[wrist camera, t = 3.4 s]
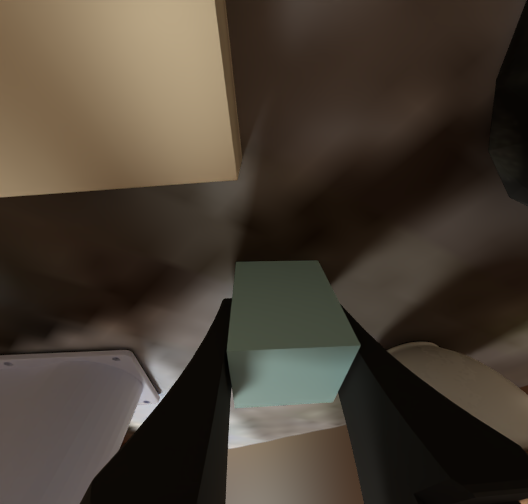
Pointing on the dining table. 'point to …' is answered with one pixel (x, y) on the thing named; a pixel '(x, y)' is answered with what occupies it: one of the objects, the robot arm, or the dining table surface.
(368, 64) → the dining table surface
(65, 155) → the birch base block
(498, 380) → the lidded jar
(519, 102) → the beer stein
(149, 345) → the dining table surface
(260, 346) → the teal block
